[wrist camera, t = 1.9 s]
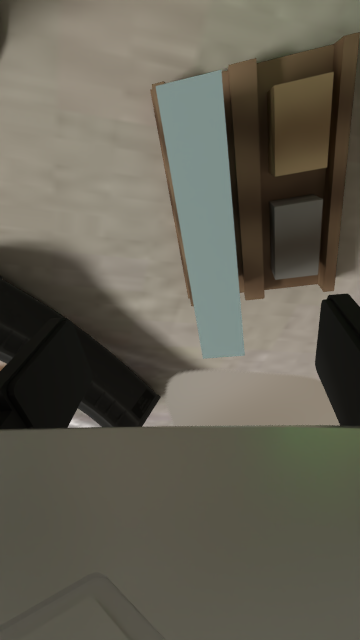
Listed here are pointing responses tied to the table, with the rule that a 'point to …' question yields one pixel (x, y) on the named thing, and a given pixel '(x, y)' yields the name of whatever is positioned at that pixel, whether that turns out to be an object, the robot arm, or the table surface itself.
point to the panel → (204, 206)
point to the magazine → (108, 372)
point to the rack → (252, 162)
